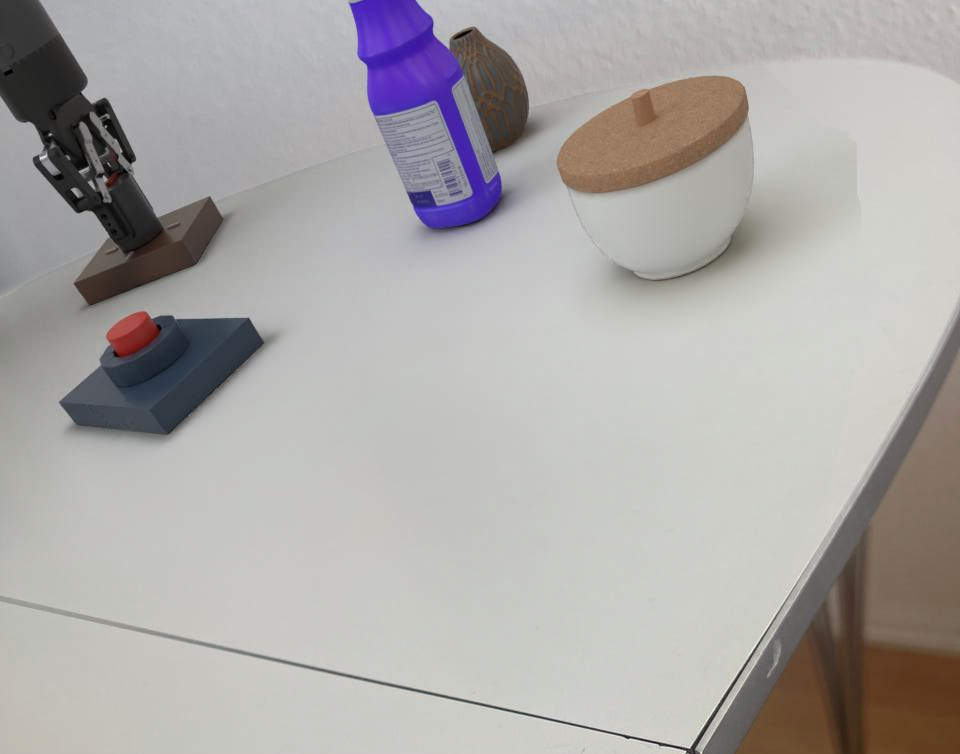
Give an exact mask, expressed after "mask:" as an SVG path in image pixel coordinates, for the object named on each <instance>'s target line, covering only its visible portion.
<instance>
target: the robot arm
mask: <svg viewBox="0 0 960 754" xmlns="http://www.w3.org/2000/svg"><path fill="white" fill-rule="evenodd" d="M88 83H89V79H88V76H87V75H86V73H85V72H84V70H83V68H82V67H81V65H80V63H79V62H78V60H77V59H76V57H75V55H74V53H73V52H72V51H71V49H70V47H69V46H68V45H67V42H66V41H65V39H64V38H63V36H62V35H61V32H60V31H59V30H58V28H57V26H56V25H55V23H54V21H53V20H52V18H51V17H50V15H49V13H48V12H47V10H46V8H45V6H44V5H43V3H42V2H41V1H40V0H0V98H1V100H2V101H3V103H4V104H5V106H6V107H7V109H8V110H9V111H10V113H11V114H12V116H13V117H14V119H15V120H16V121H18V122H19V123H23V124H24V123H25V124H27V123H31V124H32V125H33V126H34V128H35V129H36V132H37V134H38V136H39V138H40V141H41V143H42V145H43V146H42V147H43V148H42V150H41V152H40V153H39V154H36V155H35V156H33V157H32V163H33V165H34V167H35V168H36V169H37V170H38V172H39V173H40V174H41V175H42V177H44V178H45V180H46V181H47V182H48V183H49V184H50V185H51V186H52V187H53V188H54V190H55V191H56V192H57V193H58V194H59V195H60V197H62V199H63V200H64V201H65V202H66V203H67V205H69V207H70V208H71V209H72V210H73V211H74V212H75V213H76V214H81V213H84V212H88V213H89V212H92V213H93V214H94V215H95V217H96V219H97V220H98V221H99V223H100V224H101V226H102V227H103V229H104V231H105V232H106V233H107V235H108V236H109V237H110V238H111V239H112V240H113V241H114V243H115V244H117V245H123V244H125V243H128V242H130V241H132V240H133V239H134V237H135V231H134V230H133V228H132V227H131V225H130V224H129V222H128V221H127V219H126V218H125V216H124V215H123V213H122V212H121V210H120V208H119V207H118V205H117V204H116V202H115V201H114V200H113V201H112V199H111V196H110V193H109V191H108V189H107V187H106V184H105V182H106V181H105V180H104V178H106V179H107V180H108V179H109V177H110V176H111V175H112V174H114V173H117V174H118V175H120V174H123V173H130V175H131V176H132V178H133V179H134V181H135V183H136V184H137V186H138V187H139V189H140V191H141V192H142V194H143V195H144V197H145V199H146V200H147V202H148V203H149V205H150V207H151V208H152V210H153V211H154V207H153V206H152V204H151V203H150V201H149V199H148V198H147V196H146V195H145V193H144V191H143V190H142V188H141V187H140V185H139V184H138V182H137V180H136V179H135V177H134V175H135V169H134V167H133V166H132V165H133V163H136V162H137V157H136V154H135V152H134V150H133V147H132V145H131V144H130V142H129V140H128V137H127V135H126V133H125V131H124V129H123V127H122V125H121V122H120V121H119V119H118V117H117V114H116V113H115V111H114V109H113V106H112V105H111V102H110V100H109V99H108V98H106V97H102V98H100V99H98V100H96V101H94V102H91V101H90V100H89V99H88V98H87V97H86V96H85V95H84V94H83V91H84V90H86V88H87V87H88ZM87 168H88V169H87ZM85 169H86V170H85ZM82 170H84V171H83V172H81V171H82ZM89 182H92V184H93V186H94V188H93V186H91V184H90V183H89ZM72 189H75V190H76V192H77V195H78V196H77V195H76V194H75V192H74V191H73V190H72ZM94 189H96V191H97V192H96V191H95V190H94Z"/></svg>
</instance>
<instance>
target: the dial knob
mask: <svg viewBox="0 0 960 754" xmlns="http://www.w3.org/2000/svg"><path fill="white" fill-rule="evenodd" d="M134 179H135V178H134ZM134 179H133V178H132V176H131V175H130V173H123V174H120V175H118V174H117V173H114V174H112V175H111V176H110V177H109V179H107V180H105V181H104V182H105V184H106V187H107V189H108V191H109V193H110V196H111V199H112V201H113V200H114V201H115V202H116V204H117V205H118V207H119V208H120V210H121V212H122V213H123V215H124V216H125V218H126V219H127V221H128V222H129V224H130V225H131V227H132V228H133V230H134V231H135V237H134V239H133V240H132V241H130V242H128V243H125V244H123V245H118V246H119V248H120V249H121V251H123V252H126V251H131V250H133V249H136V248H138V247H140V246H142V245H144V244H146V243H147V242H149V241H150V240H152V239H153V238H154V237H156V236H157V235H158V234H159V233H160V232H161V230H162V228H163V226H162V224H161V223H160V221H159V220H158V216H157V214H156V213H155V212H154V209H153V210H152V208H151V207H150V205H149V203H150V202H149V203H148V202H147V200H146V199H145V197H144V195H145V194H144V195H143V194H142V192H143V191H142V192H141V191H140V189H139V187H140V186H139V187H138V186H137V184H138V183H137V184H136V183H135V181H134ZM93 189H94V190H95V191H96V189H95V188H93ZM96 192H97V191H96Z"/></svg>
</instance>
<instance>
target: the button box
mask: <svg viewBox="0 0 960 754" xmlns="http://www.w3.org/2000/svg"><path fill="white" fill-rule="evenodd" d="M151 319H152V320H153V322H154V323H155V325H156V326H157V328H158V329H159V330H160V333H159V335H158V336H157V337H156V338H155V339H154V340H153V341H152V342H151V343H149V344H148V345H147V346H145V347H144V348H142V349H140V350H139V351H137V352H135V353H133V354H131V355H128V356H125V357H119V356H118V354H117V353H116V351H115V350H114V349H113V347H112V346H111V345H110V344H109V345H108V346H107V347H106V348H105V349H104V351H103V353H102V354H101V356H100V358H99V363H100V365H99V366H98V367H97V368H96V369H95V370H93V371H92V372H91V373H90V374H89V375H87V377H85V378H84V379H83V380H82V381H81V382H80V383H78V384H77V385H76V386H75V387H74V388H73V389H71V390H70V391H69V392H68V393H67V394H66V395H65V396H63V398H61V399H60V400H59V401H58V404H59V405H60V406H61V408H62V409H63V410H64V411H65V412H66V414H67V415H68V416H69V418H70V419H71V420H72V421H73V422H74V424H75V425H77V426H86V427H87V426H88V427H95V428H96V427H97V428H104V429H105V428H106V429H114V430H115V429H116V430H124V431H133V432H134V431H135V432H142V433H143V432H144V433H153V434H161V435H168V434H170V432H171V431H172V430H174V429H175V428H176V427H177V425H179V424H180V423H181V422H182V421H183V420H184V419H185V418H186V417H187V416H188V415H190V413H192V412H193V410H195V408H196V407H198V406H199V405H200V404H201V403H202V402H203V401H204V400H205V399H207V398H208V397H209V395H210V394H211V393H213V391H215V390H216V389H217V388H218V387H219V386H220V385H221V384H222V383H223V382H224V381H225V380H226V379H227V378H228V377H230V375H231V374H232V373H234V372H235V371H236V370H237V369H238V367H240V366H241V365H242V364H243V363H244V362H245V361H246V360H247V359H248V358H249V357H250V356H251V355H253V353H255V352H256V351H257V350H258V349H259V348H260V347H261V346H262V345H263V344H264V343H265V342H264V340H263V338H262V336H261V335H260V333H259V331H258V330H257V329H256V327H255V325H254V324H253V321H252V320H251V319H250V317H215V318H214V317H212V318H211V317H210V318H175V316H174V315H172V314H169V315H168V314H167V315H166V314H165V315H164V314H163V315H158V316H155V317H152V318H151Z"/></svg>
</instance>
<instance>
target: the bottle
mask: <svg viewBox="0 0 960 754" xmlns="http://www.w3.org/2000/svg"><path fill="white" fill-rule="evenodd" d="M347 2H348V4H349V5H348V6H349V8H350V11H351V13H352V17H353V20H354V23H355V28H356V29H355V30H356V36H357V51H356V54H357V57H358V59H359V60H360V61H361V62H362V63H363V64H365V65H366V96H367V101H368V106H369V108H370V111H371V113H372V115H373V117H374V120H375V123H376V125H377V127H378V129H379V131H380V135H382V138H383V142H384V143H385V146H386V148H387V151H388V153H389V155H390V157H391V159H392V162H393V164H394V167H395V168H396V170H397V173H398V175H399V178H400V180H401V181H402V185H403V187H404V190H405V192H406V194H407V196H408V199H409V201H410V203H411V205H412V208H413V211H414V212H415V214H416V216H417V218H418V219H419V220H420V221H421V223H422V224H424V225H425V226H426V227H428V228H432V229H445V228H453V227H459V226H464V225H467V224H471V223H474V222H477V221H479V220H481V219H483V218H484V217H486V216H488V214H489V213H490V212H491V211H492V210H493V208H495V207H496V206H497V204H498V203H499V201H500V199H501V197H502V192H503V183H502V177H501V174H500V171H499V168H498V165H497V161H496V159H495V156H494V154H493V151H491V148H490V145H489V143H488V140H487V137H486V134H485V132H484V129H483V126H482V123H481V120H480V118H479V115H478V112H477V109H476V107H475V104H474V101H473V98H472V96H471V93H470V90H469V87H468V84H467V82H466V79H465V76H464V74H463V71H462V69H461V66H460V64H459V62H458V60H457V59H456V57H455V56H454V54H453V53H452V52H451V51H450V50H449V47H447V46H446V45H445V44H444V43H443V42H442V41H441V40H440V39H438V37H437V36H436V35H435V34H434V23H435V22H434V18H433V16H431V14H429V13H427V11H425V9H424V8H423V7H422V6H421V5H420V4H419V2H418V1H417V0H347Z"/></svg>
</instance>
